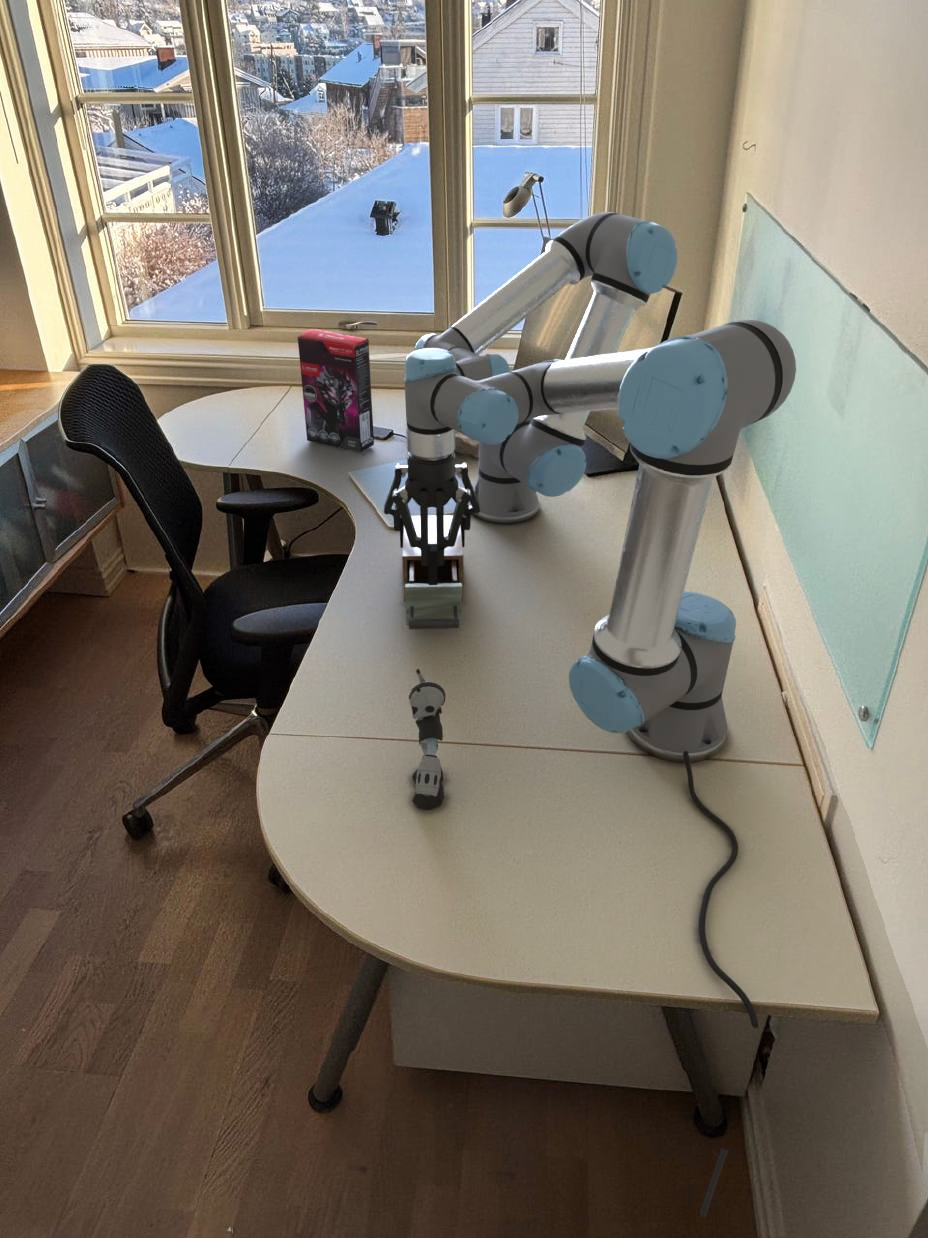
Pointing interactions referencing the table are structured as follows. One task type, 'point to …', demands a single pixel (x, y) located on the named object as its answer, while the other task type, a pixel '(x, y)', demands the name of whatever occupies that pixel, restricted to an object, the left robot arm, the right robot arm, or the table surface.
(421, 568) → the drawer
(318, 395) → the graphics card box
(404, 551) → the cabinet
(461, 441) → the stone
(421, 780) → the robot
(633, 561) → the right robot arm
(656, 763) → the table surface
